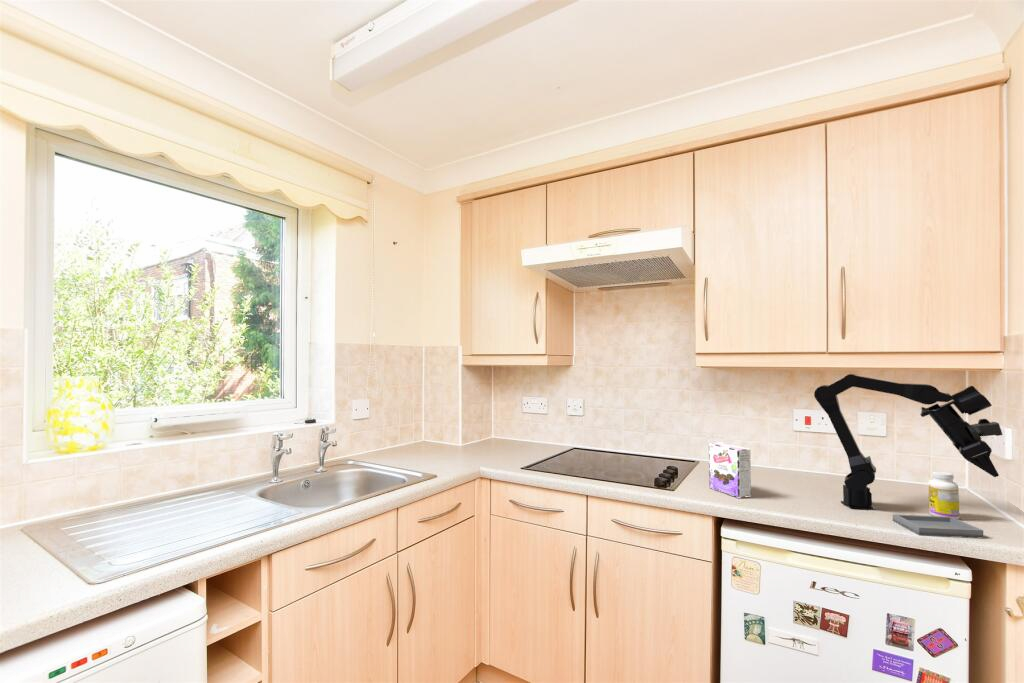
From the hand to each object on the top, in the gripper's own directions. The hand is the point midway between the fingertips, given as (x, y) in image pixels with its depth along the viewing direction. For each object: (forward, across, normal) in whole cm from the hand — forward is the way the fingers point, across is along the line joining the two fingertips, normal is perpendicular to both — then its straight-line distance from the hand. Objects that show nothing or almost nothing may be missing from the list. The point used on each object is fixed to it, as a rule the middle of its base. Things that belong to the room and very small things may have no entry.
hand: (993, 473), depth 132 cm
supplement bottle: (+7, +3, +17) cm, 19 cm away
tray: (+5, -12, +19) cm, 23 cm away
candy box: (-23, -8, +65) cm, 69 cm away
